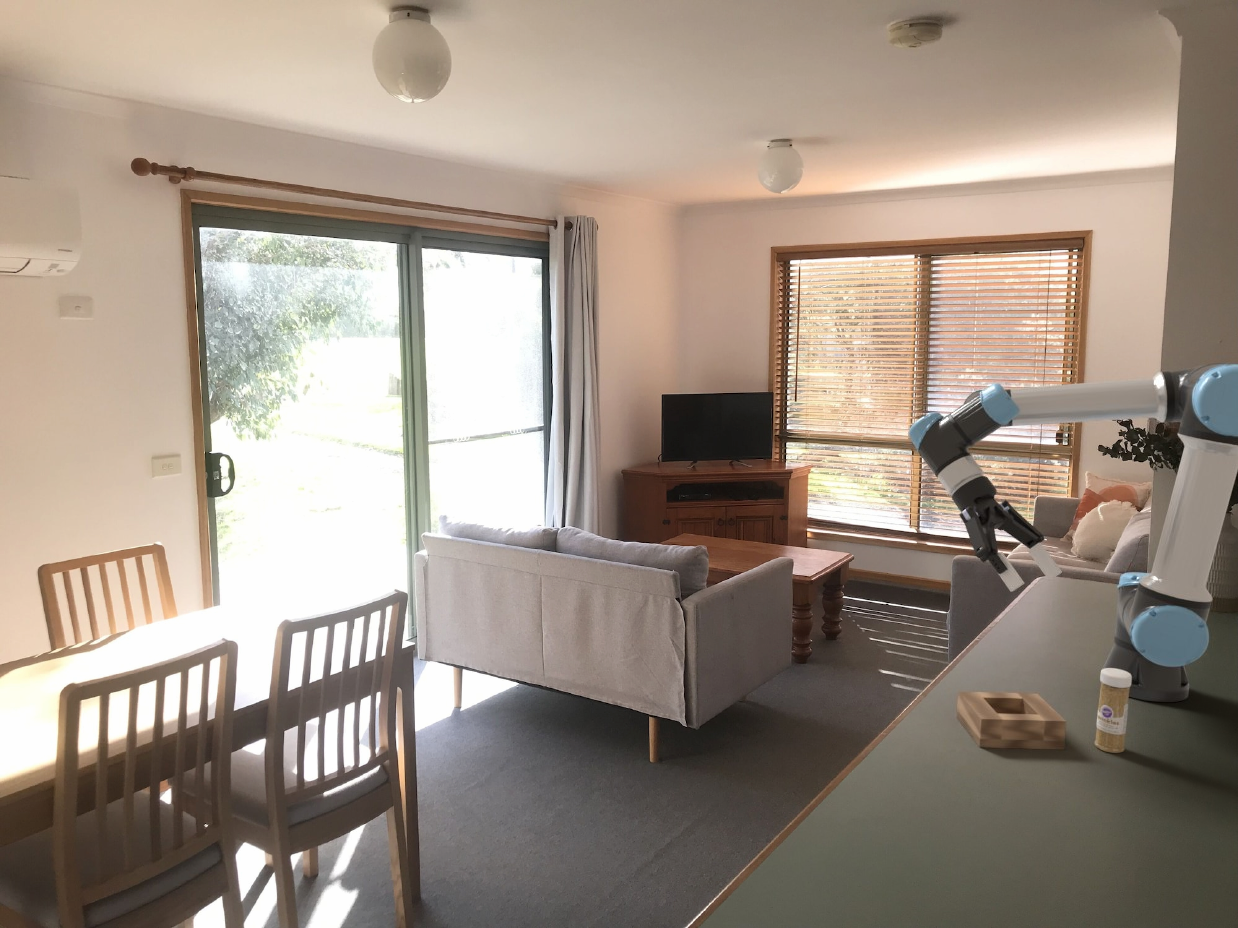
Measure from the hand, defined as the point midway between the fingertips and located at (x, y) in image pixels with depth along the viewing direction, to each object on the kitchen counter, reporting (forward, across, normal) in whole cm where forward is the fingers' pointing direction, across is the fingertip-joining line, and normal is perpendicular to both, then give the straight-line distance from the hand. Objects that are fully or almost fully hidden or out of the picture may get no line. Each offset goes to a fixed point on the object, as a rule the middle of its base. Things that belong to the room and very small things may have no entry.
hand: (1037, 581), depth 163 cm
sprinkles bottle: (+29, +1, -7) cm, 30 cm away
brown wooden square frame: (+19, +9, -17) cm, 27 cm away
